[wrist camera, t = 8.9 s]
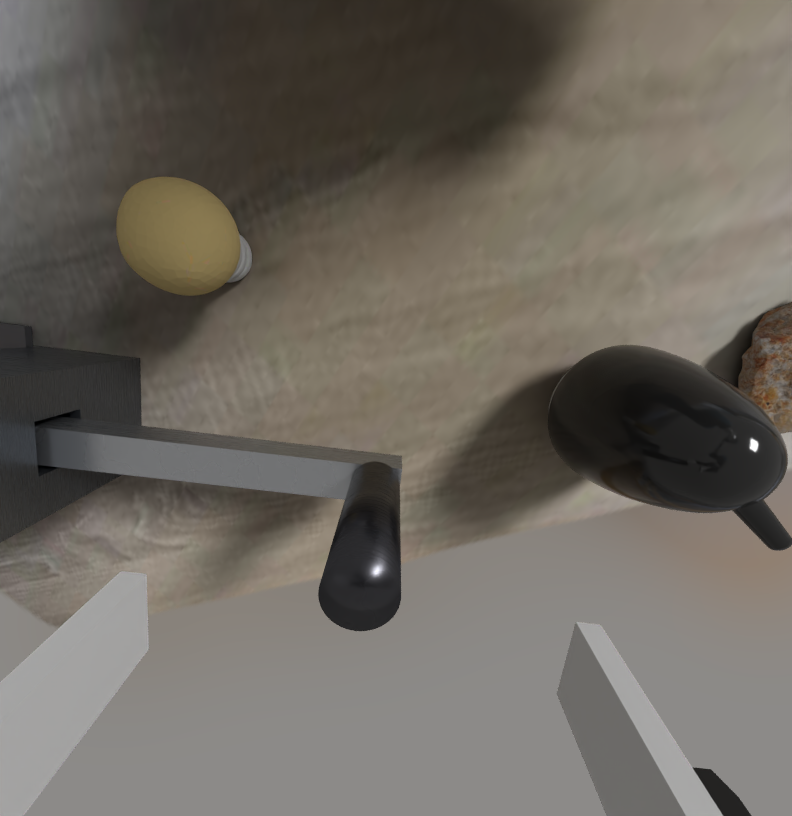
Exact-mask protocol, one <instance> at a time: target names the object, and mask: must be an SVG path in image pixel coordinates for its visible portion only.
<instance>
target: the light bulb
mask: <svg viewBox="0 0 792 816" xmlns="http://www.w3.org/2000/svg"><path fill="white" fill-rule="evenodd" d="M116 232H117V239H118V243H119V247H120V251H121V253H122V255H123V257H124V258H125V260H126V262H127V263H128V264H129V265H130V266H131V268H132V269H133V270H134V271H135V272H136V273H137V274H138V275H139V276H141V277H142V278H143V279H145V280H146V281H147V282H149V283H151V284H152V285H154V286H156V287H158V288H160V289H162V290H165V291H168V292H171V293H174V294H178V295H186V296H196V295H202V294H207V293H209V292H212V291H214V290H216V289H218V288H220V287H221V286H222V285H224V284H225V283H226V282H235V281H238V280H240V279H242V278H243V277H244V276H246V275H247V273H248V272H249V270H250V268H251V264H252V252H251V249H250V247H249V244H248V243H247V241H246V240H245V239H244V238H243V237H242V236H241V235H240V234H239V232H238V228H237V226H236V223H235V221H234V219H233V217H232V216H231V214H230V212H229V210H228V209H227V208H226V207H225V205H224V204H223V203H222V202H221V201H220V200H219V199H218V198H217V197H216V196H215V195H214V194H212V193H211V192H210V191H209V190H207V189H205V188H203V187H202V186H200V185H198V184H196V183H194V182H191V181H188V180H185V179H181V178H175V177H156V178H149V179H145V180H142V181H140V182H138V183H137V184H135V185H133V186H132V187H131V188H130V189H129V190H128V191H127V192H126V194H125V196H124V197H123V199H122V201H121V204H120V207H119V209H118V214H117V227H116Z"/></svg>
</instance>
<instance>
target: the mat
mask: <svg viewBox="0 0 792 816" xmlns="http://www.w3.org/2000/svg"><path fill="white" fill-rule="evenodd" d="M20 347H33V342H32V329H31V326H25V325H16V324H8V323H0V349H5V348H20Z"/></svg>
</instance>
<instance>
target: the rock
mask: <svg viewBox="0 0 792 816" xmlns="http://www.w3.org/2000/svg"><path fill="white" fill-rule="evenodd" d="M742 359H743V363H742V366H743V368H742V370H741V372H740V375H739V378H738V379H739V385H738V389H739V390H741V391H742V392H743V393H745V394H746V395H747V396H748V397H750V398H751V399H752V400H753V401H754V402H755V403H757V404H758V405H759V406H760V407H761V408H762V409H763V410H764V411H765V412H766V414H767V415H768V416H769V417H770V418H771V420H772V421H773V422H774V424H775V425H776V427H777V428H778V430H779V432H780V434H781V433H786V432H792V302H791V303H789V304H786V305H784V306H781V307H778V308H776V309H773V310H771V311H768V312H767V313H766V314H765V315H764V316H763V318H762V319H761V320H760V322H759V323H758V327H756V329H755V330H754V332H753V337H752V345H751V347H750V348H749V349H748V350H746V352H745V353H744V355H743V356H742Z"/></svg>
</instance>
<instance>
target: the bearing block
mask: <svg viewBox="0 0 792 816" xmlns="http://www.w3.org/2000/svg"><path fill="white" fill-rule="evenodd" d="M53 416H61V417H69V418H78V419H87V420H95V421H104V422H113V423H121V424H130V425H139V426H141V383H140V358H135V357H126V356H118V355H110V354H101V353H93V352H84V351H76V350H68V349H59V348H51V347H42V346H34V347H20V348H5V349H0V542H2V541H4V540H6V539H8V538H9V537H11V536H13V535H15V534H17V533H18V532H20V531H22V530H24V529H26V528H27V527H29V526H31V525H33V524H35V523H36V522H38V521H40V520H42V519H44V518H45V517H47V516H49V515H51V514H52V513H54V512H56V511H58V510H60V509H61V508H63V507H65V506H67V505H69V504H70V503H72V502H74V501H76V500H78V499H79V498H81V497H83V496H85V495H87V494H88V493H90V492H92V491H94V490H96V489H97V488H99V487H101V486H103V485H105V484H106V483H108V482H110V481H112V480H113V479H115V478H117V477H119V476H121V475H122V474H114V473H105V472H96V471H87V470H78V469H69V468H61V467H52V466H43V465H38V463H37V450H36V437H35V425H34V422H35V421H39V420H42V419H46V418H50V417H53Z"/></svg>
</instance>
